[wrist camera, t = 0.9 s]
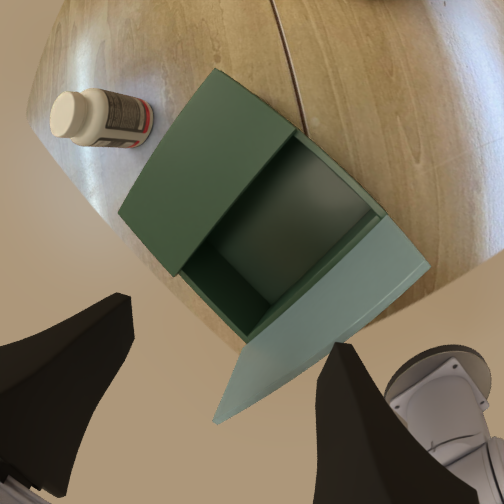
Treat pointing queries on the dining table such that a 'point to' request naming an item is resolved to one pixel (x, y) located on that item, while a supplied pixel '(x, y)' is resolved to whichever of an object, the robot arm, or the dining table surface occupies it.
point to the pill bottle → (101, 118)
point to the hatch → (325, 316)
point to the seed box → (245, 206)
